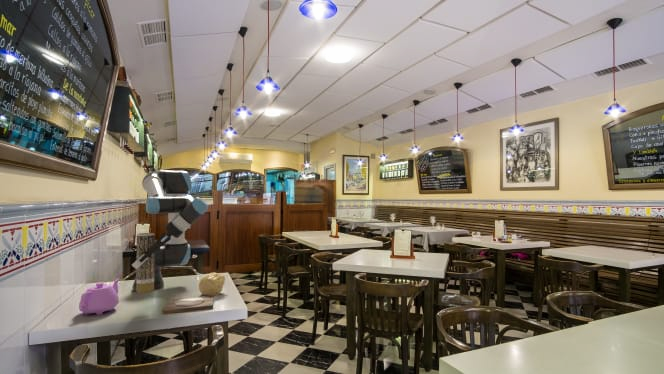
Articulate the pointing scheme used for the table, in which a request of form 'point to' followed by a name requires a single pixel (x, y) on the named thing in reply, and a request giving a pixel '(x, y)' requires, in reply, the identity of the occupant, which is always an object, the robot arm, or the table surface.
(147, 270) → the paper tube
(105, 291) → the teapot
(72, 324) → the table surface
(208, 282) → the sculpture
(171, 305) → the walnut board
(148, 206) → the robot arm
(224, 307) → the table surface
